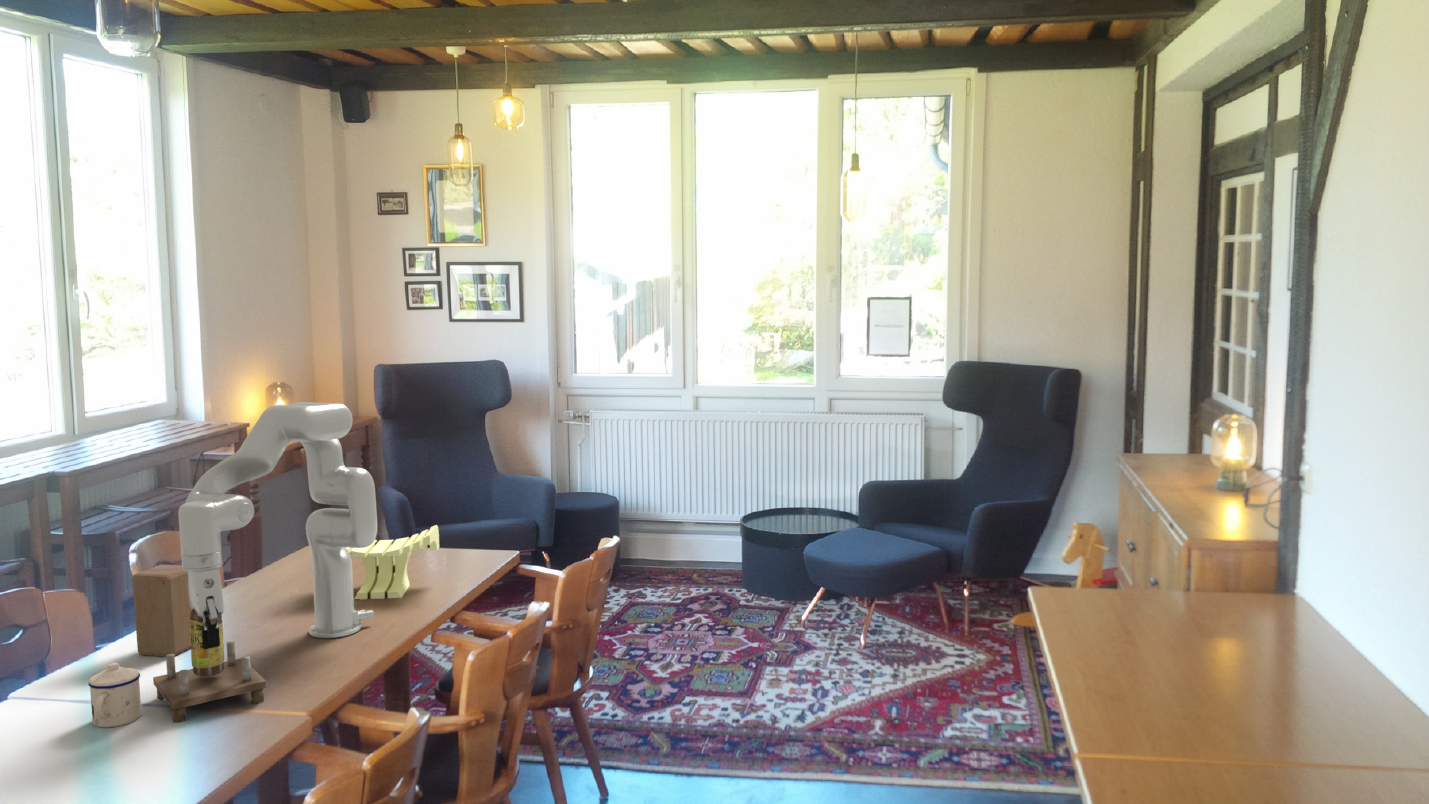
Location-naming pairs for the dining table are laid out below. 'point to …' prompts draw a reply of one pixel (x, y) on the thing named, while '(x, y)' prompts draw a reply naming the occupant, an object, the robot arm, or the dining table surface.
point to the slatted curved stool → (391, 563)
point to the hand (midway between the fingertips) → (207, 642)
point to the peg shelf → (208, 684)
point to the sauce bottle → (205, 659)
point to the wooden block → (162, 610)
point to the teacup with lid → (115, 696)
